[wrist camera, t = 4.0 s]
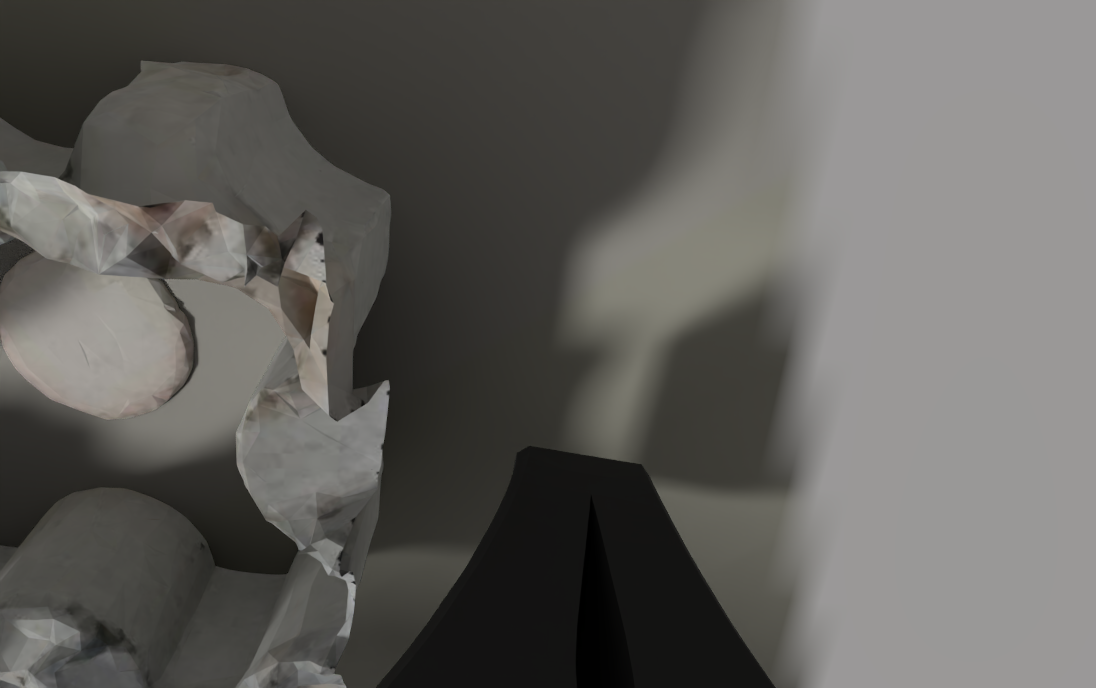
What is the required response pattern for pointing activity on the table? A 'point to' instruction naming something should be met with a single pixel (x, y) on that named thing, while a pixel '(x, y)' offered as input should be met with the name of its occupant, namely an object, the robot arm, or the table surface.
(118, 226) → the egg carton
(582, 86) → the table surface
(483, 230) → the table surface
